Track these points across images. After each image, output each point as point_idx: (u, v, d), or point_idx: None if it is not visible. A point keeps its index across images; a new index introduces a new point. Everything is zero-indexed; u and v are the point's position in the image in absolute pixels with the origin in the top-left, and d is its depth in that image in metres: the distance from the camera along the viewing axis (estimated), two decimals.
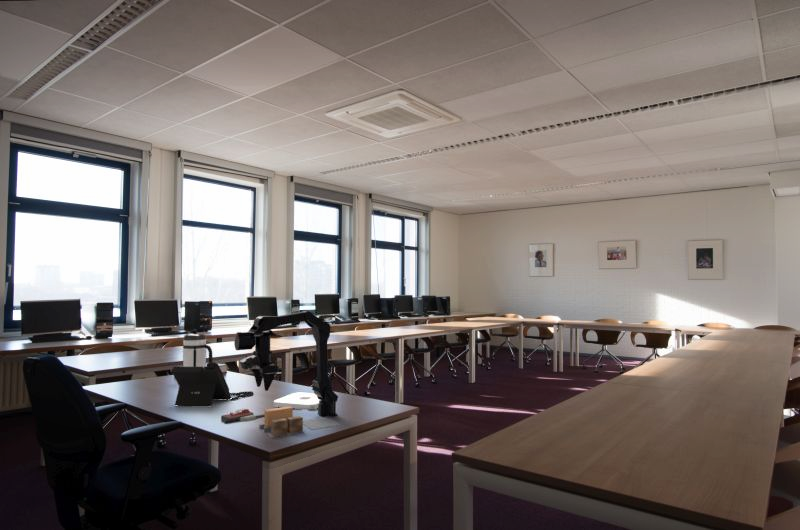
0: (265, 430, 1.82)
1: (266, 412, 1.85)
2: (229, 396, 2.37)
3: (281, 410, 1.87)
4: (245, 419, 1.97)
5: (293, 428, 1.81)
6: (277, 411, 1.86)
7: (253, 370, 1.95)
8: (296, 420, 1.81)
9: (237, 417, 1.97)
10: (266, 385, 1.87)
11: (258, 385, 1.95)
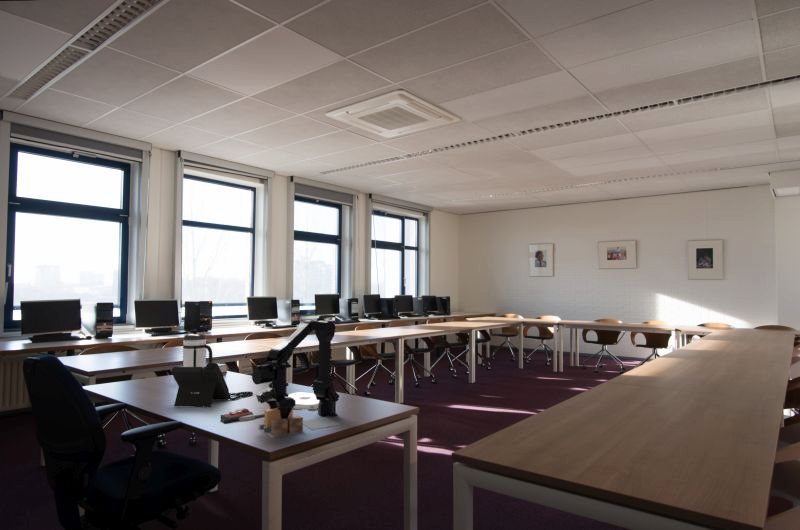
0: (265, 430, 1.82)
1: (266, 412, 1.85)
2: (229, 396, 2.36)
3: None
4: (244, 419, 1.97)
5: (293, 428, 1.81)
6: (277, 411, 1.86)
7: (269, 402, 1.91)
8: (296, 420, 1.81)
9: (236, 417, 1.97)
10: None
11: None
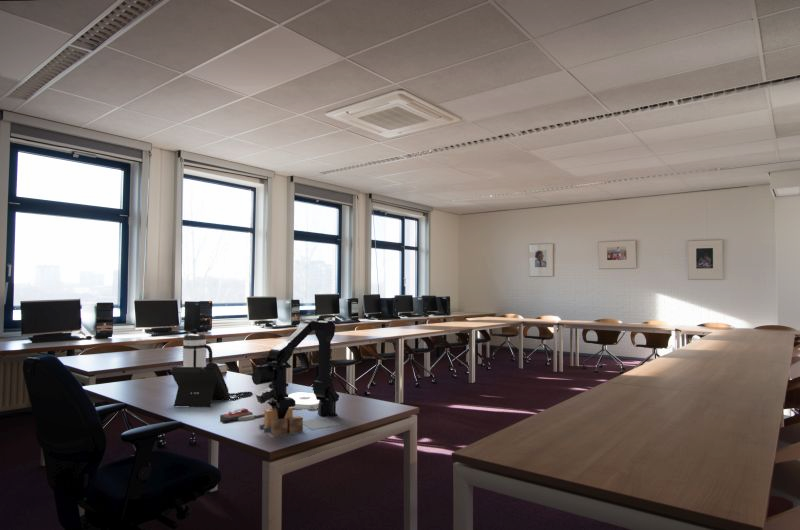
0: (265, 430, 1.82)
1: (266, 412, 1.85)
2: (228, 396, 2.36)
3: None
4: (243, 419, 1.97)
5: (293, 428, 1.81)
6: None
7: (271, 404, 1.89)
8: (296, 420, 1.81)
9: (235, 417, 1.97)
10: (280, 417, 1.86)
11: None
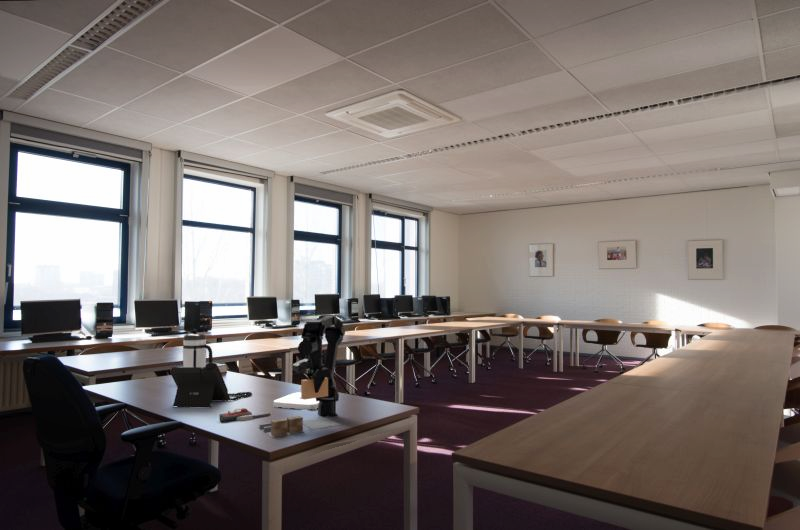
0: (265, 430, 1.82)
1: (303, 382, 1.90)
2: (228, 397, 2.35)
3: None
4: (241, 419, 1.98)
5: (293, 428, 1.81)
6: (313, 381, 1.91)
7: (308, 374, 1.94)
8: (296, 420, 1.81)
9: (234, 416, 1.97)
10: (316, 387, 1.91)
11: None
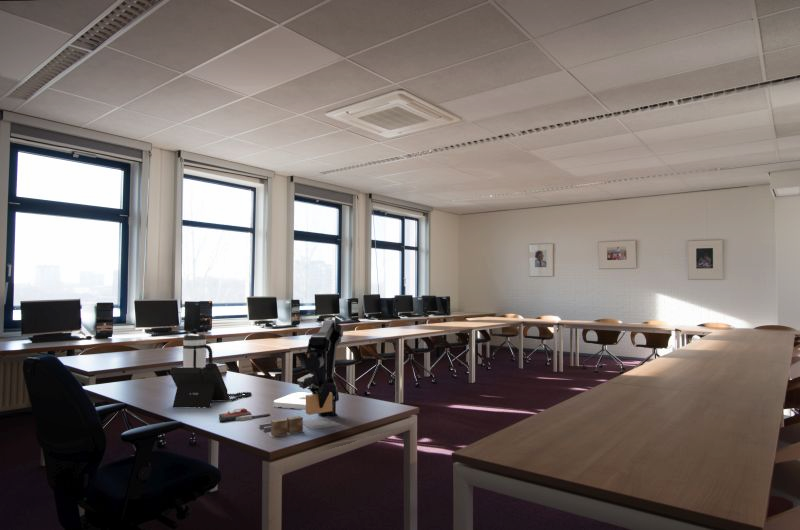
0: (265, 430, 1.82)
1: (308, 397, 1.90)
2: (227, 397, 2.35)
3: None
4: (240, 419, 1.98)
5: (293, 428, 1.81)
6: None
7: (312, 389, 1.94)
8: (296, 420, 1.81)
9: (233, 416, 1.98)
10: (321, 402, 1.91)
11: None
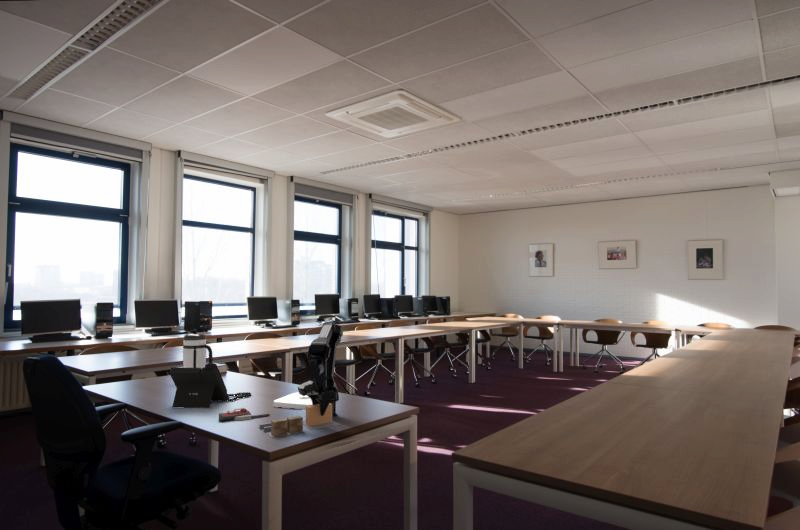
0: (265, 430, 1.82)
1: (307, 408, 1.90)
2: (227, 397, 2.34)
3: None
4: (239, 419, 1.98)
5: (293, 428, 1.81)
6: (318, 407, 1.91)
7: (311, 396, 1.95)
8: (296, 420, 1.81)
9: (232, 416, 1.98)
10: (322, 410, 1.90)
11: None
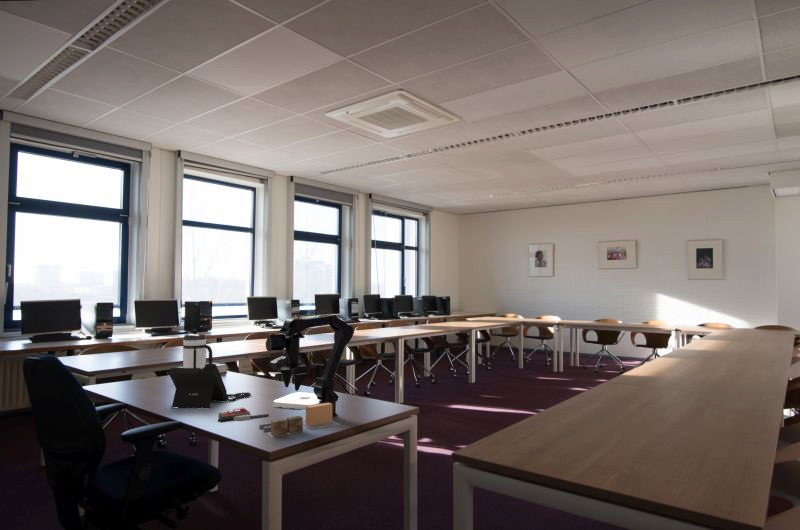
0: (265, 430, 1.82)
1: (307, 408, 1.90)
2: (227, 397, 2.34)
3: (322, 406, 1.92)
4: (238, 419, 1.98)
5: (293, 428, 1.81)
6: (318, 407, 1.91)
7: (282, 371, 2.00)
8: (296, 420, 1.81)
9: (231, 416, 1.98)
10: (296, 385, 1.93)
11: (286, 385, 2.00)
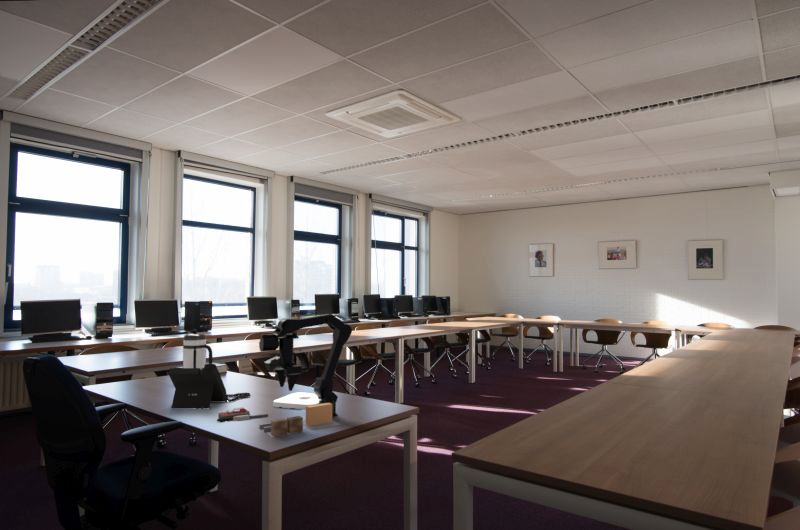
0: (265, 430, 1.82)
1: (307, 408, 1.90)
2: (226, 398, 2.33)
3: (322, 406, 1.92)
4: (237, 419, 1.98)
5: (293, 428, 1.81)
6: (318, 407, 1.91)
7: (276, 371, 2.02)
8: (296, 420, 1.81)
9: (230, 416, 1.99)
10: (290, 385, 1.94)
11: (281, 385, 2.02)
